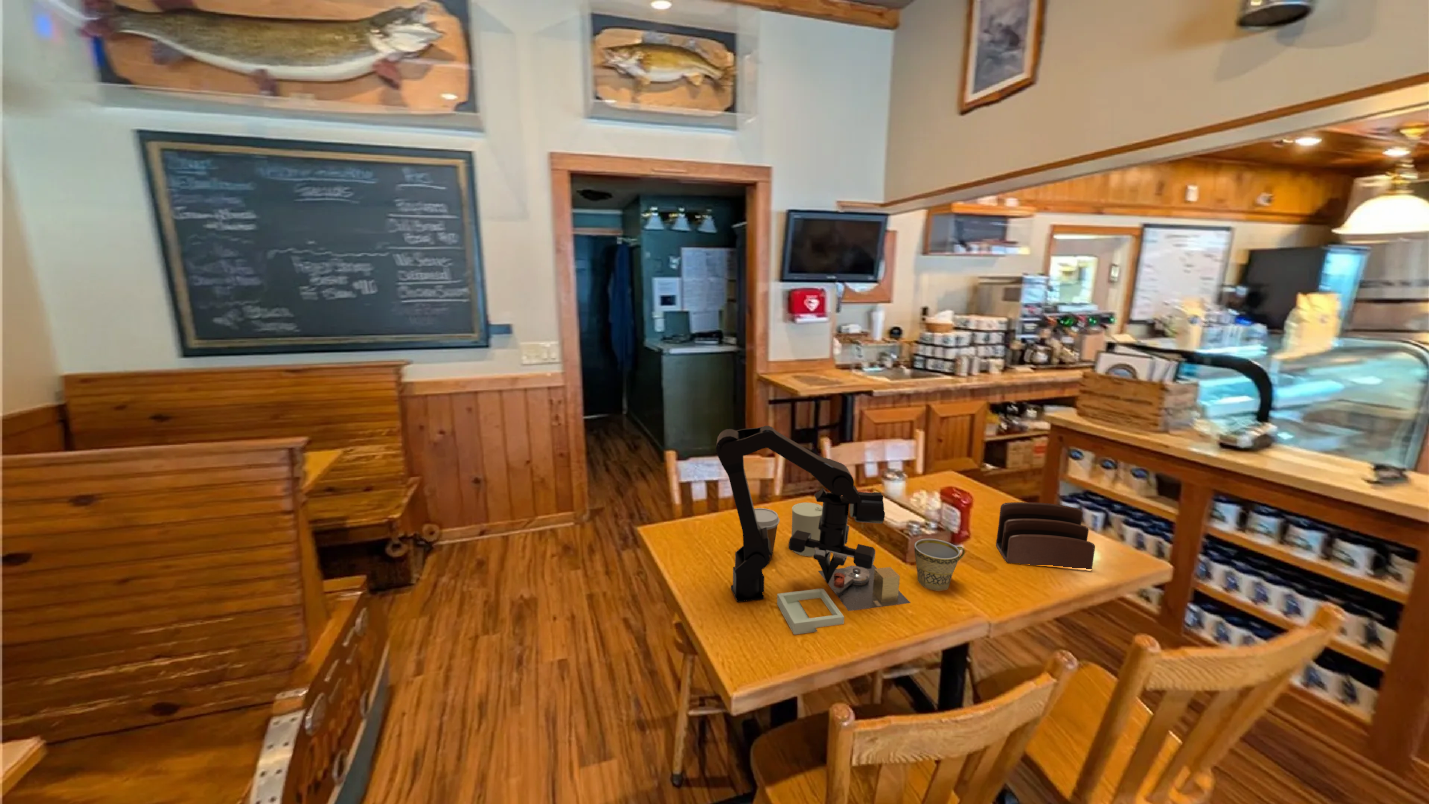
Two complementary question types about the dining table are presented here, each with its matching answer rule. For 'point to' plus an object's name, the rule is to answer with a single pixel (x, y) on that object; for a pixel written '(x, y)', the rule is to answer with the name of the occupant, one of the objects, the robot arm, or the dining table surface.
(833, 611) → the tray
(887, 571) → the block
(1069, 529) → the letter holder
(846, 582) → the crank
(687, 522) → the dining table surface
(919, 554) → the ceramic cup
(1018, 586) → the dining table surface
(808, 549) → the can
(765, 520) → the disposable coffee cup
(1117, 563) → the dining table surface
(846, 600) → the machine bed
